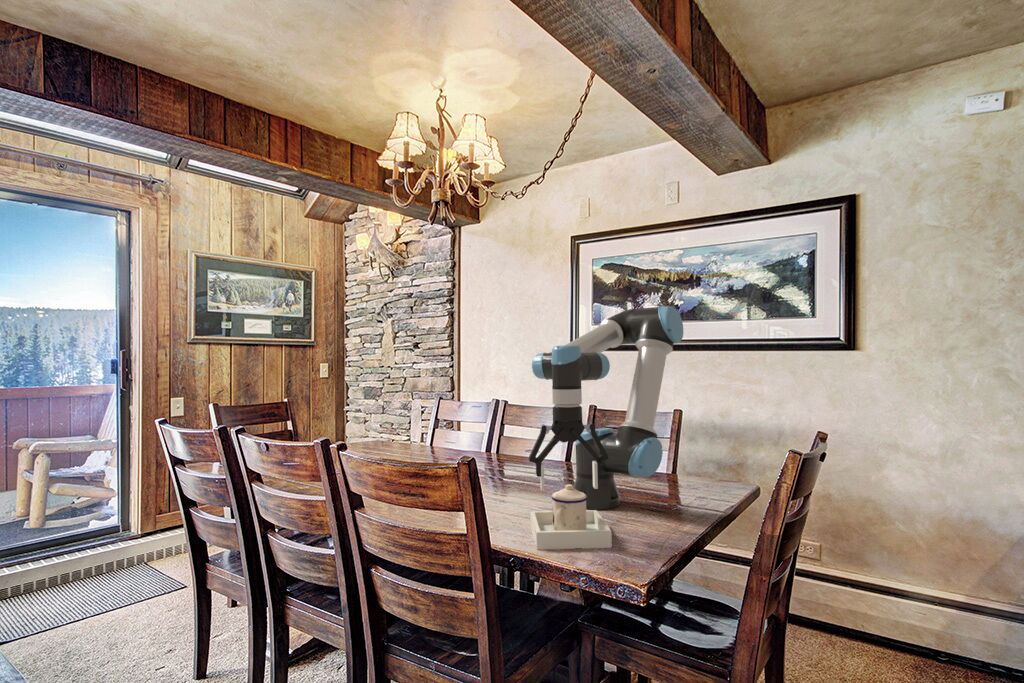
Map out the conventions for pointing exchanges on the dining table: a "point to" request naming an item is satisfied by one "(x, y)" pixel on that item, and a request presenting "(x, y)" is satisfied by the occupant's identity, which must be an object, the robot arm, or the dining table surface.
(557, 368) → the robot arm
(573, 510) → the teacup with lid
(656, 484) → the dining table surface
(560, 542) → the tray
